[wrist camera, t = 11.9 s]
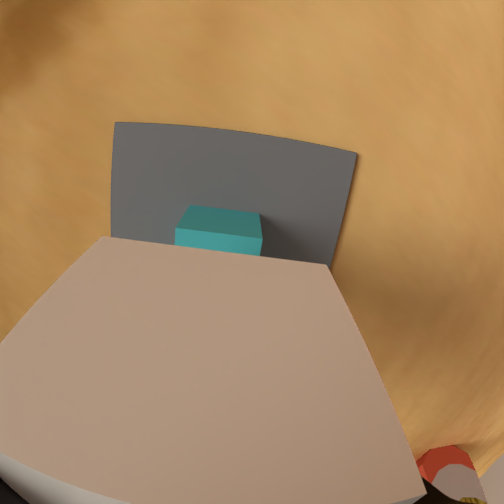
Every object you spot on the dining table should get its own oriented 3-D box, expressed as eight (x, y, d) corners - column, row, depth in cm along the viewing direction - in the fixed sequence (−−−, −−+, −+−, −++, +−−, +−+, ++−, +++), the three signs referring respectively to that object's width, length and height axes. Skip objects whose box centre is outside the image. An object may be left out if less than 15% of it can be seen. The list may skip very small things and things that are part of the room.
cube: (249, 274, 19) (250, 311, 16) (185, 266, 19) (172, 301, 15) (258, 213, 18) (262, 238, 14) (189, 204, 18) (175, 227, 14)
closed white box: (281, 408, 12) (297, 565, 5) (120, 387, 11) (73, 535, 5) (326, 264, 9) (426, 493, 3) (102, 235, 8) (-53, 417, 2)
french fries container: (418, 450, 32) (453, 549, 16) (463, 441, 33) (499, 522, 17) (401, 465, 34) (430, 559, 17) (447, 456, 35) (478, 535, 19)
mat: (278, 420, 26) (278, 423, 26) (131, 402, 25) (130, 405, 25) (355, 152, 17) (356, 153, 16) (116, 122, 16) (114, 122, 15)
